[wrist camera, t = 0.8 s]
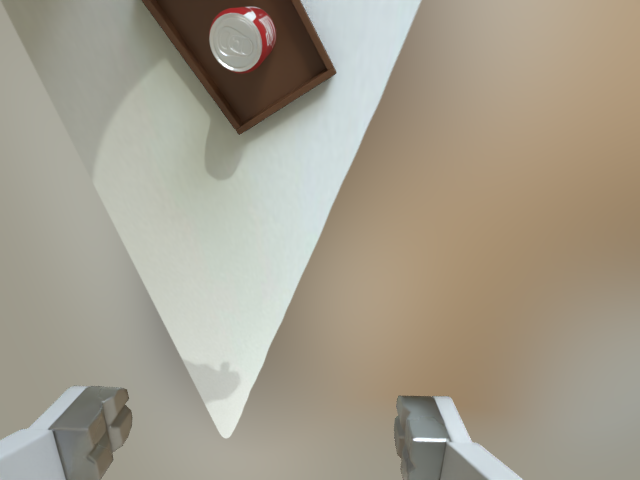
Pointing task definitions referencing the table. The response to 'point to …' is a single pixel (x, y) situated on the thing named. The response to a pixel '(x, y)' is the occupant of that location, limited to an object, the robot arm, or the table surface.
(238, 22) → the soda can
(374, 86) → the table surface
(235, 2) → the tray
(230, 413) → the table surface
